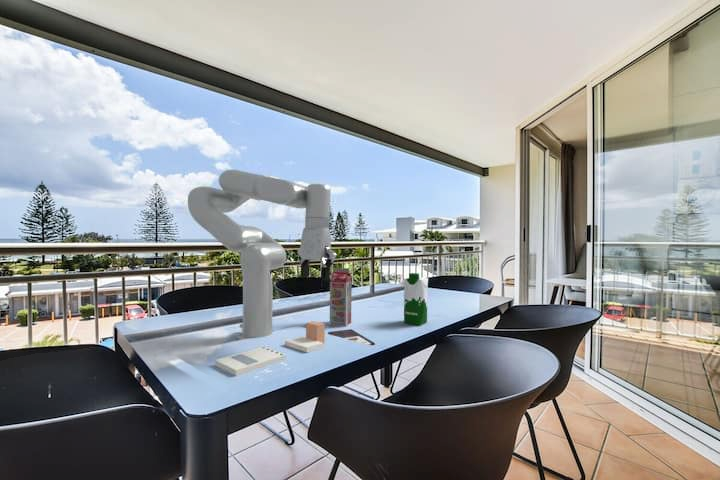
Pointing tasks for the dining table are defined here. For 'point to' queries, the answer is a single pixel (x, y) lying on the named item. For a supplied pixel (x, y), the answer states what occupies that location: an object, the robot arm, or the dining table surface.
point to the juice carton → (340, 297)
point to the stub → (309, 338)
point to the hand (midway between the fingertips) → (314, 278)
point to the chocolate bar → (351, 336)
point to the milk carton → (415, 299)
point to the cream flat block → (249, 360)
